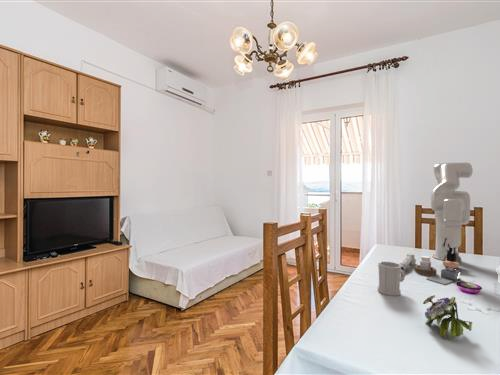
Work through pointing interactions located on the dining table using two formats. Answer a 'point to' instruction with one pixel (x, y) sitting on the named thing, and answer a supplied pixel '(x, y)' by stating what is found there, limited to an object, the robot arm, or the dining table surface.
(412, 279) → the dining table surface
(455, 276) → the block
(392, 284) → the cup
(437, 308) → the passion flower
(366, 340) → the dining table surface
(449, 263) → the orange square block
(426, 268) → the pill bottle
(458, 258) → the pipe fitting
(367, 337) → the dining table surface
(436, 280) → the mat
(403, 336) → the dining table surface
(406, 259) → the white electric toothbrush
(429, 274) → the sleeve
